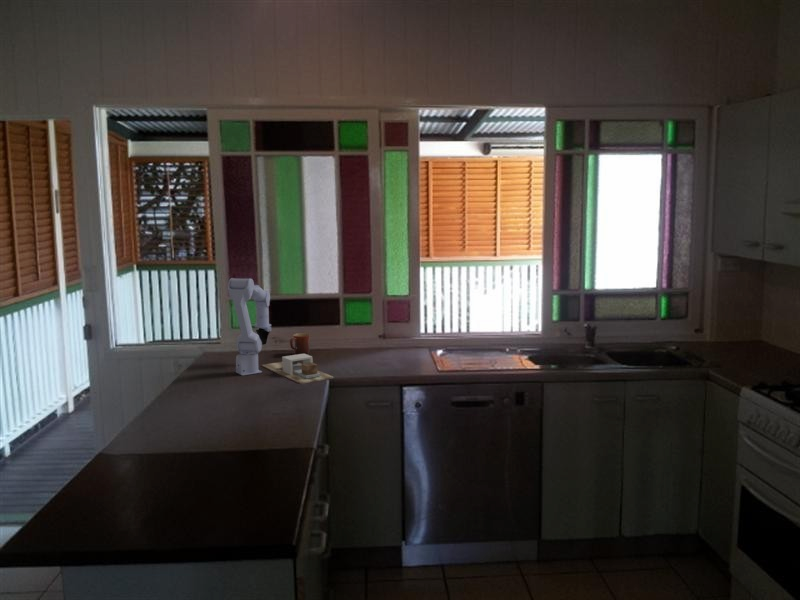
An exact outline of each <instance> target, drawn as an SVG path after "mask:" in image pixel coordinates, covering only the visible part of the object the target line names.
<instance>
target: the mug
mask: <svg viewBox="0 0 800 600" xmlns="http://www.w3.org/2000/svg"><path fill="white" fill-rule="evenodd" d="M310 337H311V333H307V332H304V333H302V332H299V333H294V334H292V337H291V338H290V339H289V346H290V348H291V349H292V350H294V355H298V354H307V355H309V353H310ZM293 341H294V343H293Z"/></svg>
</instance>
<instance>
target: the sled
mask: <svg viewBox="0 0 800 600" xmlns="http://www.w3.org/2000/svg"><path fill="white" fill-rule="evenodd" d="M298 363H299V362H298V361H293V362H292V365H293V373H295V374H297V375H300V376H302V377H304V378H306V379H307V378H312V377H318V376H321V374H320V373H318V374H313V375H305V374H303V373H302V366H301V365H298Z"/></svg>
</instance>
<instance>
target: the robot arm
mask: <svg viewBox="0 0 800 600" xmlns="http://www.w3.org/2000/svg"><path fill="white" fill-rule="evenodd" d="M227 291H228V295H229V298H230V301H231V300H232V301H233V305H234V310H235V313H236V318H237V322H238V326H239V330H240V334H239V335H238V336H237V337H236V349H237V351H238V352H239V354H236V357H235V373H237V374H238V375H241V376H249V375H254V374H261V373H263V371H262V370H261V369H259V353H261V351H262V348H263V346H264V345H267V342H268V338H269V334H270V333H271V332H272V324H271V323H270V311H269V306H270V302H271V294H270V292H269V291H268V290H264V289H263V288H261V286H260V285H259V284H255V282H254V280H253V278H234V277H231V278H230V279H229V280H228V283H227ZM251 298H252V299H253V302H254V303H255V313H256V317H255V318H256V323H254V328H257V329H256V330H255V332H254V331H253V326H252V322H251V318H250V315H249V314H250V313H249V309H248V306H247V302H248V301H249V300H251Z"/></svg>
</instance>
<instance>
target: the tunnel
mask: <svg viewBox="0 0 800 600" xmlns="http://www.w3.org/2000/svg"><path fill="white" fill-rule="evenodd" d="M281 359H282V361H281V362H282V367H283V369H282V371H283V372H285V373H287V374H290V375H293V365H292V362H293V361H297V362H298V361H302V362H301V364H305V363H314V359H313V356H312V355H309V354H308V355H307V354H298V355H296V354H292V355H291V354H290V355H285V356H281Z"/></svg>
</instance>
